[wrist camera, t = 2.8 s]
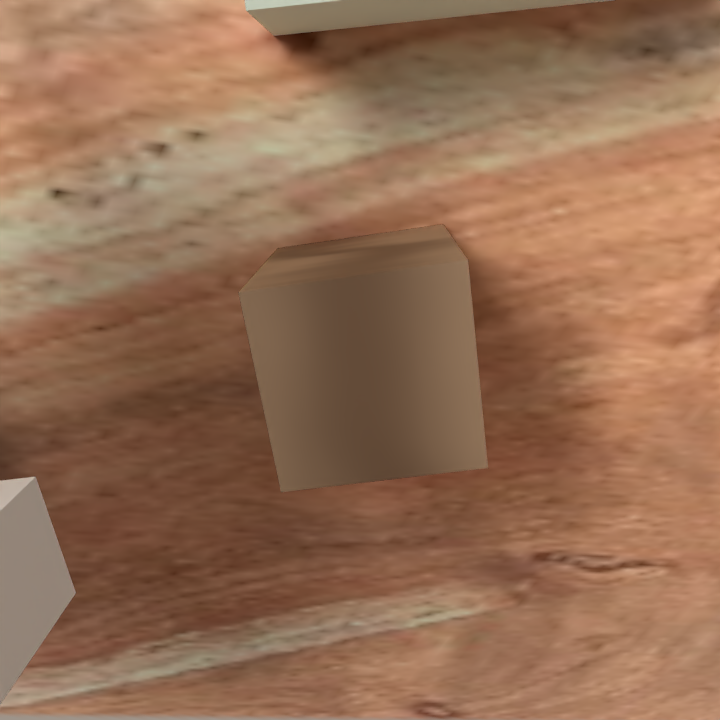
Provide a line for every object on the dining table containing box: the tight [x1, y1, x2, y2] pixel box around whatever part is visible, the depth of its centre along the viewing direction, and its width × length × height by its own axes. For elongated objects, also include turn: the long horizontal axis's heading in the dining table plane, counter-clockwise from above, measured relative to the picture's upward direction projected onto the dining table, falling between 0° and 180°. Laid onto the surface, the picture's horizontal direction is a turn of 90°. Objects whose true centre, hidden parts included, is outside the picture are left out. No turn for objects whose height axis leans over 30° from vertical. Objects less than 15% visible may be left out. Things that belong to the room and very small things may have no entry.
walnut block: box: [238, 224, 488, 492], centre depth 21 cm, size 6×6×7 cm
